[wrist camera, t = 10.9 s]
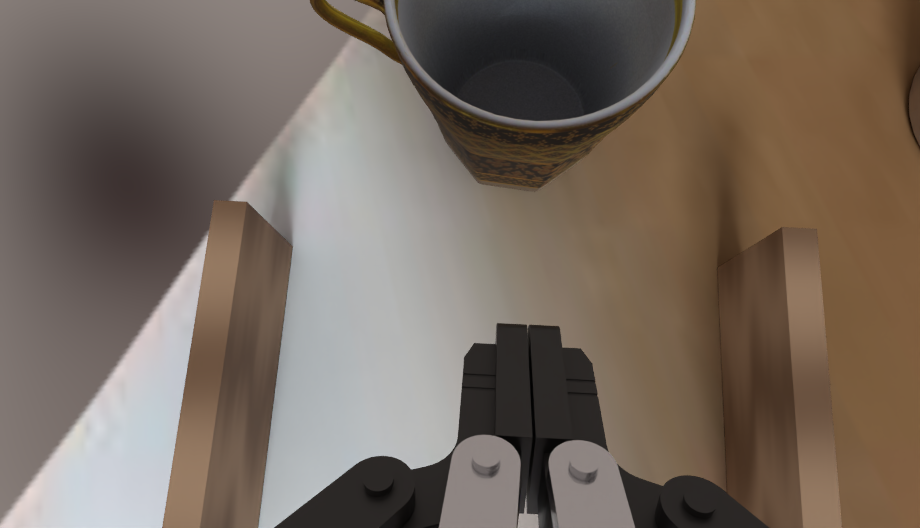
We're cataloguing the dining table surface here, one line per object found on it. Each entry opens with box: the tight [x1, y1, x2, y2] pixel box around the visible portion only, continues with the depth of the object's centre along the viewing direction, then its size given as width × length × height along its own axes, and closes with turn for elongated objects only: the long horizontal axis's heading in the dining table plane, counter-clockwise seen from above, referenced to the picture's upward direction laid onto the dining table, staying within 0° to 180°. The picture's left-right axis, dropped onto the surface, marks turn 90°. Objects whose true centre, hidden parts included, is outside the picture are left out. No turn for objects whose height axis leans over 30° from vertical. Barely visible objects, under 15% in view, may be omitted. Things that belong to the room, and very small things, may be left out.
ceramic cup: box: [310, 0, 696, 192], centre depth 25 cm, size 13×10×10 cm
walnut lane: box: [162, 200, 842, 528], centre depth 24 cm, size 12×21×6 cm, turn 87°
